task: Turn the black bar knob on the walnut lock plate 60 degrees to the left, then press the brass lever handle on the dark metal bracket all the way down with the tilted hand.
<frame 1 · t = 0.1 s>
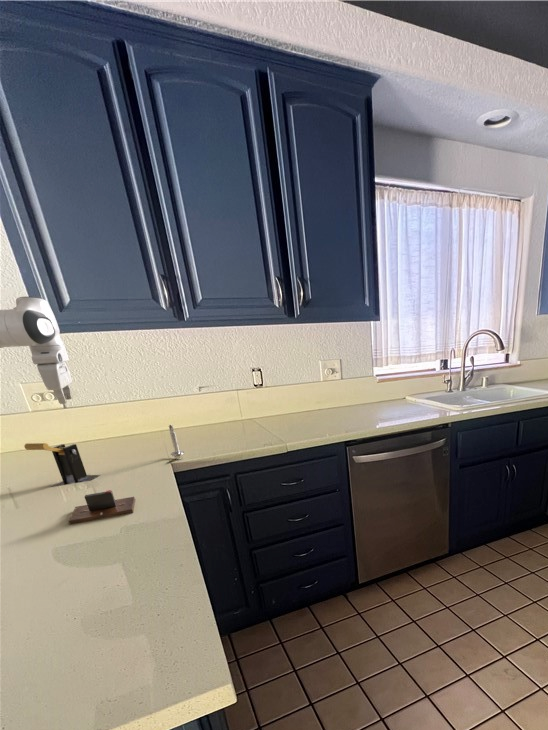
hand: (66, 401, 138), 25 cm above the counter, tool pointing down, fingers open, 8 cm apart
lock plate: (106, 518, 113), on the counter
lock knob: (100, 500, 111), point 5 cm above the counter, hinge at 0.0°
handle bracket: (77, 484, 139), on the counter
lever: (52, 449, 130), point 13 cm above the counter, hinge at 25.0°
screw: (178, 459, 162), on the counter
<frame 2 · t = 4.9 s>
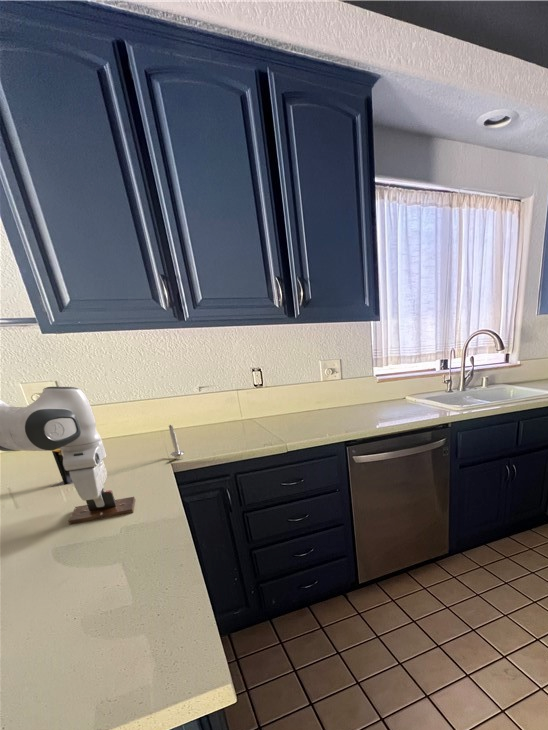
hand: (101, 504, 111), 4 cm above the counter, tool pointing down, fingers closed on lock knob, 2 cm apart
lock knob: (100, 500, 111), point 5 cm above the counter, hinge at -0.1°, touching gripper
everything else where it was.
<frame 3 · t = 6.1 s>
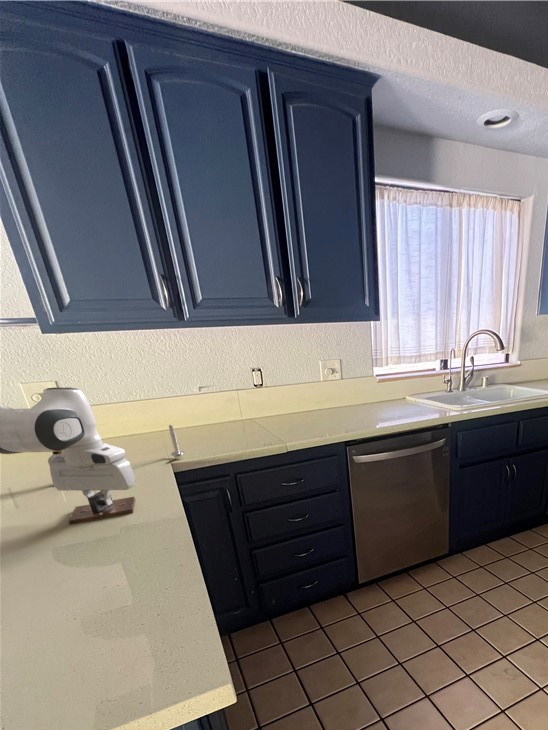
hand: (102, 504, 112), 4 cm above the counter, tool pointing down, fingers closed
lock knob: (100, 500, 111), point 5 cm above the counter, hinge at 59.9°
everything else where it was.
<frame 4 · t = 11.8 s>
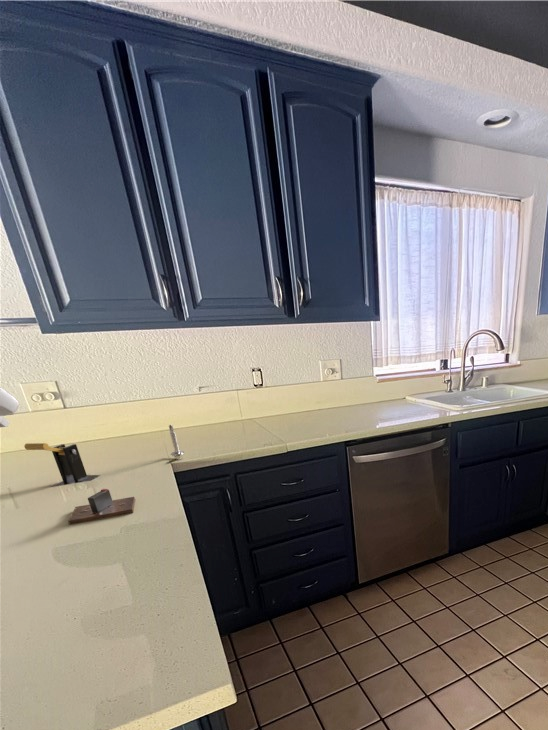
hand: (4, 425, 110), 24 cm above the counter, tool tilted 40°, fingers closed
nothing on the counter moved.
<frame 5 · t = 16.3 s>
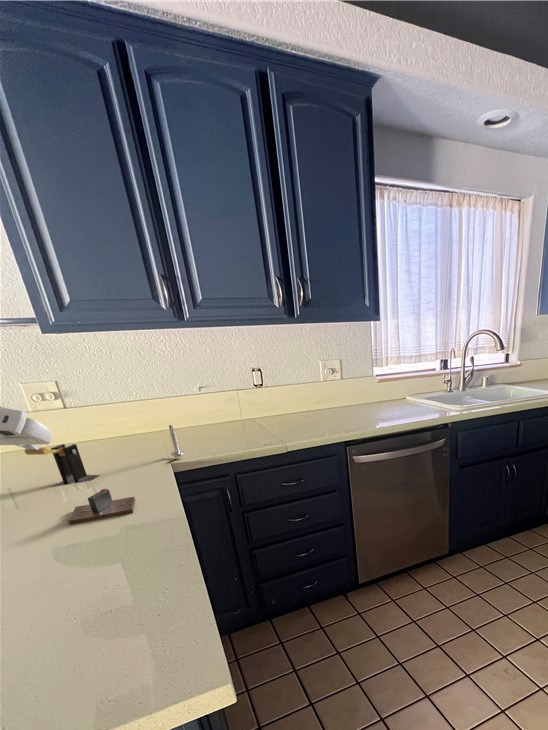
hand: (35, 448, 124), 15 cm above the counter, tool tilted 45°, fingers closed, pressing on lever
lever: (52, 451, 130), point 12 cm above the counter, hinge at 17.2°, touching gripper
everything else where it was.
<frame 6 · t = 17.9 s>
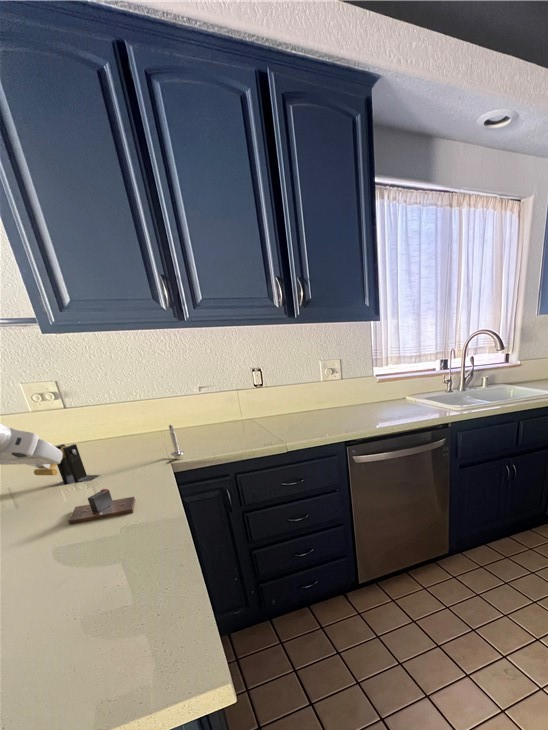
hand: (45, 466, 128), 9 cm above the counter, tool tilted 45°, fingers closed, pressing on lever
lever: (56, 461, 131), point 9 cm above the counter, hinge at -21.0°, touching gripper
everything else where it was.
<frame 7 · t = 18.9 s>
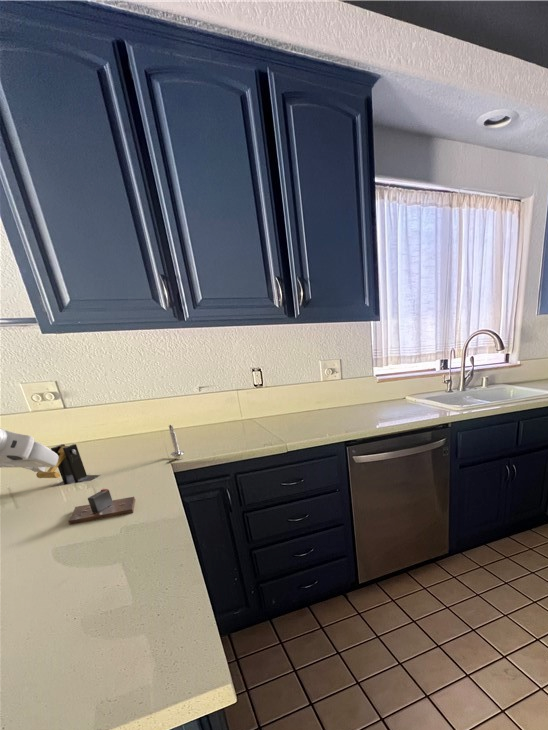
hand: (41, 469, 127), 9 cm above the counter, tool tilted 45°, fingers closed
lever: (57, 462, 132), point 9 cm above the counter, hinge at -27.3°
everything else where it was.
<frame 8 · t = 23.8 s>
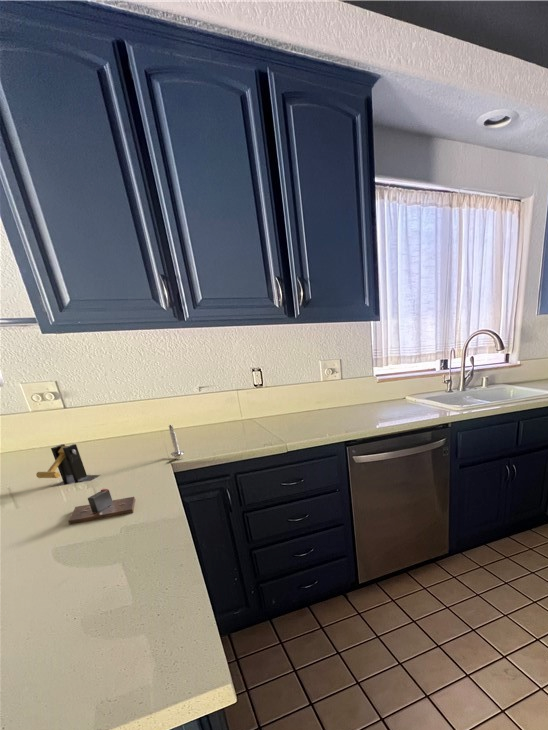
nothing on the counter moved.
at the end: lock knob at +60° (first picture: +0°); lever at -27° (first picture: +25°) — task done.
